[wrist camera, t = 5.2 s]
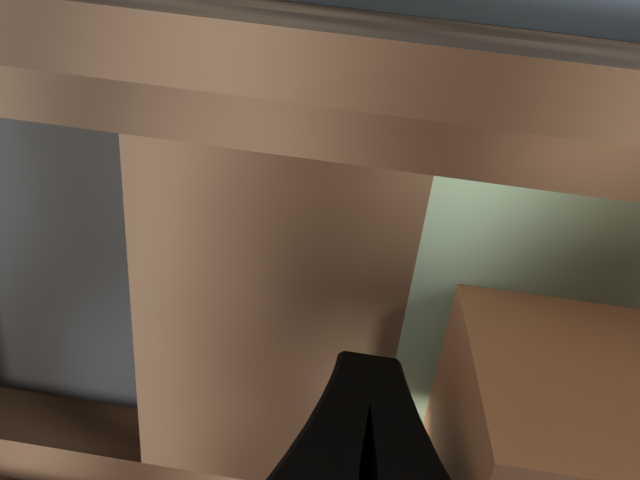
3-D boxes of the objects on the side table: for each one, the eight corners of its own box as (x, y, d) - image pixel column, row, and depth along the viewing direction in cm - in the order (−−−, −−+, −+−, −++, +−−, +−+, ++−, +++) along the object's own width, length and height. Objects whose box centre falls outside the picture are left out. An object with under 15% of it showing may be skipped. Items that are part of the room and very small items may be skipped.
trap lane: (-40, 431, 18) (-146, 547, 14) (-174, -54, 12) (-424, -59, 8) (754, 564, 17) (852, 727, 13) (1104, 98, 10) (1484, 173, 7)
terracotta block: (417, 442, 13) (430, 650, 9) (457, 283, 11) (495, 464, 7) (609, 473, 13) (705, 700, 9) (686, 316, 11) (856, 521, 7)
